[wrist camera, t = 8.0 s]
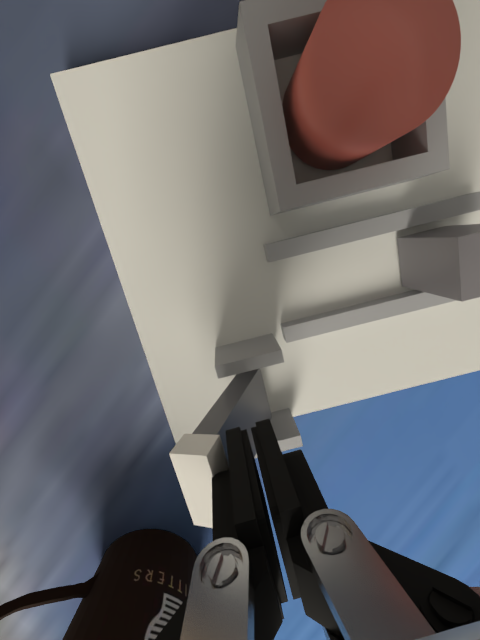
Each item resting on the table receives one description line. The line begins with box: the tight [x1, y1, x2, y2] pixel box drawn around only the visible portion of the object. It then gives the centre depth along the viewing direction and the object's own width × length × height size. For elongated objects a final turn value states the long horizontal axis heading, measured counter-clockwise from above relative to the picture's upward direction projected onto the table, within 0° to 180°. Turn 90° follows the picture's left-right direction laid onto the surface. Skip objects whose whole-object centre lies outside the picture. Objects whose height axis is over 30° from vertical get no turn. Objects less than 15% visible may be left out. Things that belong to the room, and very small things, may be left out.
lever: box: [169, 368, 272, 528], centre depth 13 cm, size 1×3×7 cm, turn 13°
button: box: [282, 0, 461, 170], centre depth 11 cm, size 4×4×4 cm
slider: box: [397, 224, 480, 302], centre depth 13 cm, size 2×2×4 cm
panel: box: [50, 0, 480, 458], centre depth 15 cm, size 18×18×4 cm
